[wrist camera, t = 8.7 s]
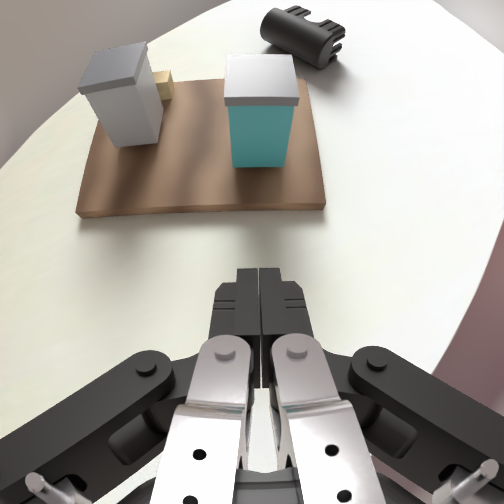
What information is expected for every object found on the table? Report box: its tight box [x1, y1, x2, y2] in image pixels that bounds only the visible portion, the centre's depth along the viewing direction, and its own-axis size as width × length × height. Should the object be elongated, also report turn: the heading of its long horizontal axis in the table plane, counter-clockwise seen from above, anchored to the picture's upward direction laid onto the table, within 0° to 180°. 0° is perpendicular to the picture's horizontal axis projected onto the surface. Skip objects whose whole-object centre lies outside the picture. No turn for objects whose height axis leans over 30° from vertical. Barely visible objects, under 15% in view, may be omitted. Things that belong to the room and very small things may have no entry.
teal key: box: [224, 54, 300, 168], centre depth 26 cm, size 5×5×10 cm
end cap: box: [260, 6, 345, 69], centre depth 36 cm, size 10×7×7 cm
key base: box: [75, 70, 326, 218], centre depth 32 cm, size 26×18×4 cm
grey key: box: [78, 42, 164, 148], centre depth 27 cm, size 5×5×10 cm
